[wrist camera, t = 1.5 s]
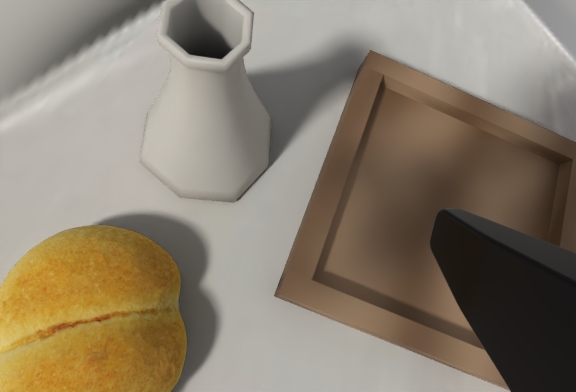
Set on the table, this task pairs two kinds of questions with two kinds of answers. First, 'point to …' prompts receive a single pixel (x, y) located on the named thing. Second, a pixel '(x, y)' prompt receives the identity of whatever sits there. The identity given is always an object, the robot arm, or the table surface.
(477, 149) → the walnut tray
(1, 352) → the bread roll
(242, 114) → the flask
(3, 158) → the table surface
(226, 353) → the table surface
